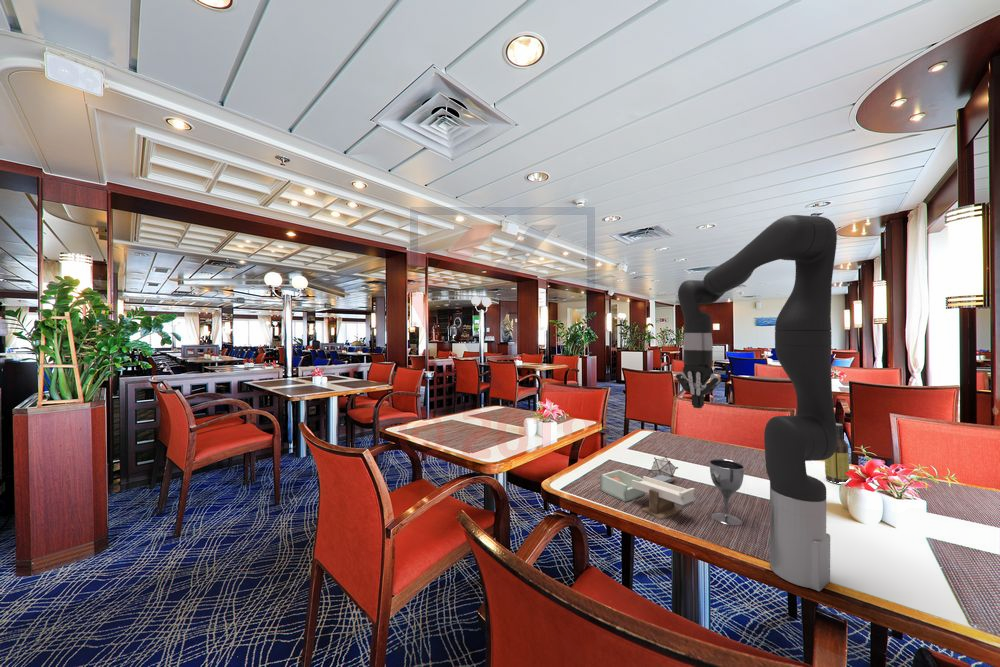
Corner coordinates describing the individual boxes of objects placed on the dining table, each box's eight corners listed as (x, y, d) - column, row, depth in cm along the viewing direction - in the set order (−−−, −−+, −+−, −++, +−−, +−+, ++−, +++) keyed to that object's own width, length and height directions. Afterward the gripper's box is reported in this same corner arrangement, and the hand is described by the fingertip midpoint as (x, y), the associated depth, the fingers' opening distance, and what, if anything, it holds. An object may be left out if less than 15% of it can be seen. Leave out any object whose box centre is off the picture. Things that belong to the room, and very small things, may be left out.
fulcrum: (682, 510, 105) (682, 487, 105) (660, 520, 100) (660, 496, 100) (663, 502, 110) (663, 480, 110) (641, 511, 105) (641, 488, 105)
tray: (644, 495, 115) (644, 479, 115) (625, 502, 110) (625, 485, 110) (618, 484, 123) (619, 469, 123) (600, 490, 118) (600, 474, 118)
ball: (625, 484, 118) (619, 474, 120) (618, 486, 116) (612, 476, 118) (619, 489, 120) (613, 479, 122) (612, 491, 118) (606, 481, 120)
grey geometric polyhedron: (669, 493, 125) (683, 476, 119) (644, 482, 127) (657, 465, 121) (668, 472, 132) (682, 455, 126) (645, 462, 134) (657, 445, 128)
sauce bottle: (850, 482, 126) (850, 424, 126) (849, 487, 121) (849, 427, 122) (825, 476, 130) (825, 420, 130) (823, 481, 126) (823, 423, 126)
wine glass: (727, 528, 96) (727, 470, 96) (702, 513, 103) (702, 460, 103) (751, 523, 98) (751, 467, 98) (725, 510, 105) (725, 457, 105)
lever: (712, 497, 104) (711, 481, 104) (683, 509, 96) (682, 493, 97) (661, 481, 118) (661, 468, 118) (632, 491, 110) (631, 477, 110)
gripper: (728, 349, 104) (728, 410, 104) (683, 347, 115) (683, 403, 115) (714, 349, 100) (714, 413, 100) (669, 348, 111) (669, 405, 111)
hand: (697, 407), depth 107 cm, fingers closed
